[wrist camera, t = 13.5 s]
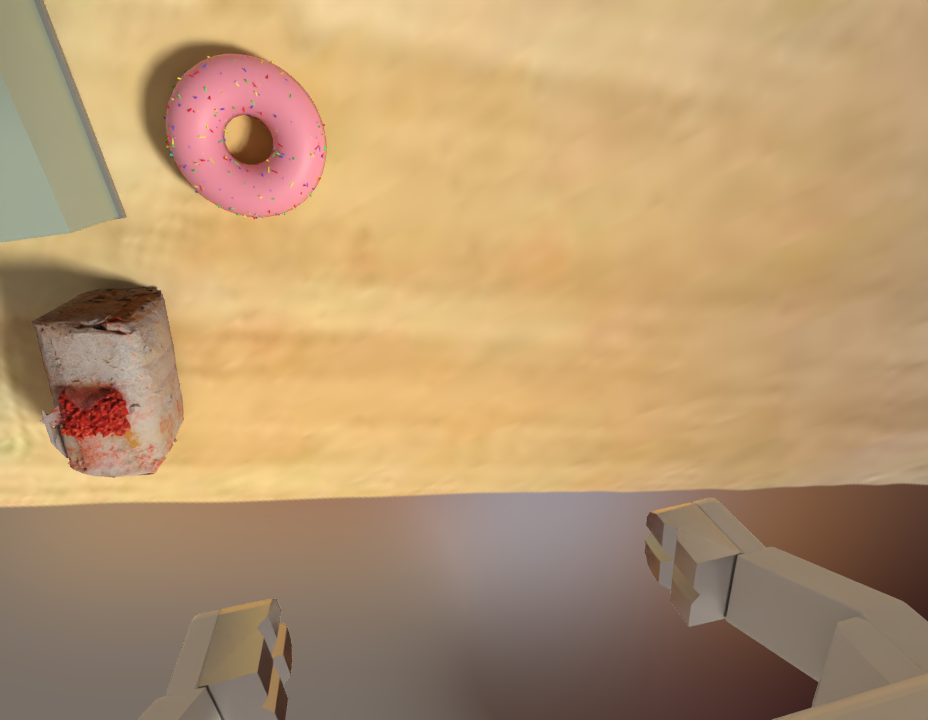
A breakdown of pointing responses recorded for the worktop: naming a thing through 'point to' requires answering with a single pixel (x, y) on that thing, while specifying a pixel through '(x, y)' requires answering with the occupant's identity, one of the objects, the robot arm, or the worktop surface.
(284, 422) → the worktop surface
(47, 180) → the cover
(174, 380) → the food item
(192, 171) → the doughnut
